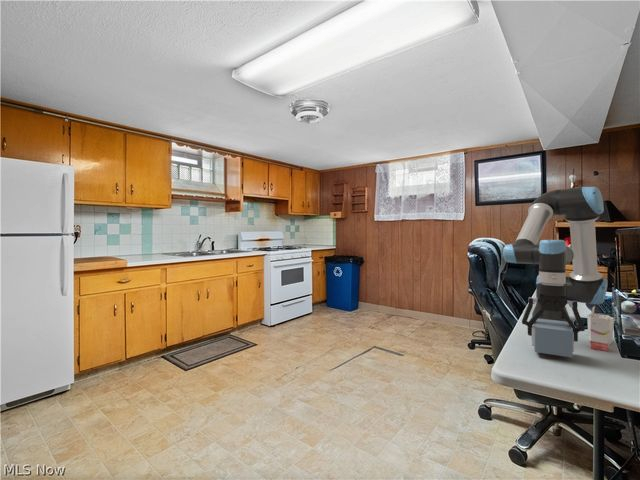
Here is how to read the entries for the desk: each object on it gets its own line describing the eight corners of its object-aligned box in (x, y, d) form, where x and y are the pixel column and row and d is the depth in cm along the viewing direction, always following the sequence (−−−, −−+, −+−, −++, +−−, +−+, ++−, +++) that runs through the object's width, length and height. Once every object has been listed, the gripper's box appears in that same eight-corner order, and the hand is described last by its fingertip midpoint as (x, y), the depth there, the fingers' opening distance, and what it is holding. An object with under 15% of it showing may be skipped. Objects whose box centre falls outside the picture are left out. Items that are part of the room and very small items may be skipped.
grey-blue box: (532, 341, 118) (533, 317, 117) (567, 345, 113) (567, 321, 112) (535, 351, 109) (535, 326, 109) (572, 357, 104) (573, 331, 103)
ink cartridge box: (608, 352, 114) (608, 311, 114) (590, 348, 117) (590, 308, 117) (610, 346, 120) (610, 307, 120) (592, 343, 123) (592, 305, 123)
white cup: (603, 339, 128) (603, 314, 128) (619, 345, 120) (619, 319, 120) (582, 338, 129) (582, 313, 129) (596, 345, 121) (597, 318, 121)
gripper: (513, 282, 113) (513, 345, 113) (597, 288, 101) (597, 357, 102) (513, 280, 119) (513, 339, 120) (592, 285, 108) (591, 350, 108)
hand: (551, 347), depth 111 cm, fingers closed on grey-blue box, 10 cm apart
